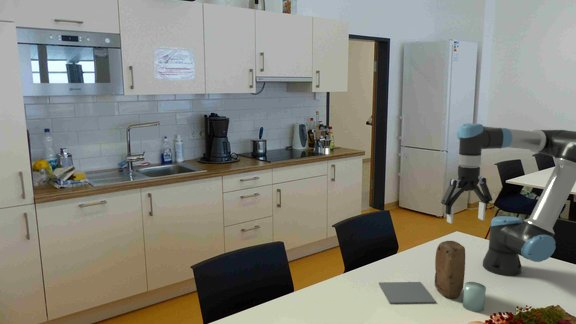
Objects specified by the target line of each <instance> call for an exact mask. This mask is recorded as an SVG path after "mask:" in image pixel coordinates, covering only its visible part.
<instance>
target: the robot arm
mask: <svg viewBox="0 0 576 324" xmlns="http://www.w3.org/2000/svg"><path fill="white" fill-rule="evenodd" d="M456 138H457V139H458V140H459V143H458V144H459V149H458V166H457V176H458V178H457V179H454V178H450V179H449V184H448V187H447V189H446V191H445V193H444V195H443V197H442V199H441V202H440V203H441V204H442V205H444V206H445V214H446V222H447V223H449V224H451V225H453V223H454V211H455V210H454V207H455V206H454V203H455V202H456V201H457V200H458V198H460V196H461V194H463V193H464V192H469V191H471V192H472V191H473V192H474V193H475V194H476V196H477V197H478V198H479V200H480V201H479V202H478V215H477V219H479V220H481V221H485V219H486V218H485V217H486V211H487V209H488V205H489V204H490V202H492V201H493V198H492V194H491V192H490V189H489V187H488V184H487V178H486V177H482V176H481V175H480V174H481V167H480V166H481V164H482V163H481V162H482V161H481V160H482V150H491V149H493V150H494V149H504V148H505V149H506V148H510V149H519V150H520V149H522V150H529V151H530V152H533V153H537V154H542V155H546V156H549V157H553V160H554V162H555V166H554V168H553V170H552V172H551V175H550V176H549V179H548V180H547V182H546V184H545V186H544V189H543V190H542V193H540V194H541V195H540V196H539V198H538V199H537V202H536V204H535V206H534V208H533V210H532V212H531V214H530V216H529V218H526V219H521V218H520V217H516V216H509V215H507V216H505V215H502V216H501V215H500V216H499V215H498V216H494V217H493V218H492V219H491V221H490V226H489V240H488V241H489V242H488V250H486V251H487V252H486V253H485V256H484V257H483V260H482V267H483V268H484V269H485V270H487V271H489V272H491V273H494V274H496V275H500V276H501V275H502V276H512V277H513V276H518V275H520V274H521V273H522V267H523V266H522V264H521V258H520V256H521V257H523V258H524V259H527V260H529V261H532V262H534V263H535V262H536V263H541V262H544V261H546V260H548V259H550V258H551V256H552V255H553V254H554V252H555V250H556V248H557V247H556V246H557V245H556V240H555V238H554V236H555V232H554V229H553V228H554V226H555V224H556V223H557V220H558V219H559V216H560V214H561V212H562V210H563V207H564V206H565V204H566V203H567V201H568V200H567V199H568V198H569V195H571V194H570V193H572V190H573V188H574V186H575V184H576V131H574V130H567V129H534V130H532V131H531V130H523V129H514V128H513V129H512V128H506V127H494V126H485V125H484V126H483V124H481V123H473V122H472V123H471V122H470V123H467V122H466V123H463V124H461V126H459V127H458V129H457V131H456ZM478 184H479V185H478ZM479 186H480V187H479Z"/></svg>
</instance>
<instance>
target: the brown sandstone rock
mask: <svg viewBox="0 0 576 324" xmlns="http://www.w3.org/2000/svg"><path fill="white" fill-rule="evenodd" d="M434 262H435V263H434V265H435V266H434V269H435V275H434V286H435V289H436V291H438V292H439V293H440V295H442V296H444V298H445V297H446V298H452V299H454V298H458V297H459V296H460V295H461V294H462V291H463V290H464V285H465V273H466V272H465V270H466V248H465V246H464V245H462V244H461V243H459V242H457V241H454V240H445V241H441V242H439V244H438V246H437V248H436V252H435V261H434Z"/></svg>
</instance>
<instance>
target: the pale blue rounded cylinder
mask: <svg viewBox="0 0 576 324" xmlns="http://www.w3.org/2000/svg"><path fill="white" fill-rule="evenodd" d="M486 291H487V287H486V286H485V285H484V284H482V283H480V282H477V281H476V282H475V281H467V282H464V285H463V299H462V308H464V309H465V310H467V311H470V312H474V313H481V312H483V311H484V310H485V302H486V300H485V299H486Z"/></svg>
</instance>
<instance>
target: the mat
mask: <svg viewBox="0 0 576 324" xmlns="http://www.w3.org/2000/svg"><path fill="white" fill-rule="evenodd" d="M378 285H379V287H380V289H381V290H382V292H383V294H384V296H385V297H386V299H387V301H388V303H389V304H390V305H403V304H405V305H407V304H410V305H411V304H412V305H414V304H436V303H437V301H436V300H435V298H434V297H433V296H432V295H431V293H430V292H429V290H427V288H426V287H425V286H424V284H423V283H422V282H421V281H398V282H397V281H395V282H394V281H391V282H390V281H389V282H383V281H381V282H378Z"/></svg>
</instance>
